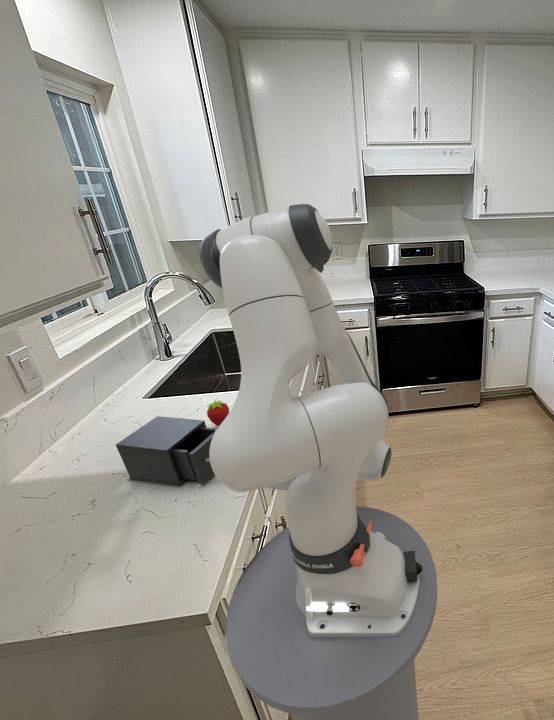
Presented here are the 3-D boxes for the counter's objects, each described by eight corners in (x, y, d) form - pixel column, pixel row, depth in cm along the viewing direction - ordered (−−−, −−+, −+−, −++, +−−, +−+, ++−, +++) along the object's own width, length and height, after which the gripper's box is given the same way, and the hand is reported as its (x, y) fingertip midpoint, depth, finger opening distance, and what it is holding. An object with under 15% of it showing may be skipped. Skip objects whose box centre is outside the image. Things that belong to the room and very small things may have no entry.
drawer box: (215, 453, 105) (204, 420, 101) (180, 485, 94) (166, 450, 89) (169, 448, 108) (157, 416, 104) (130, 479, 97) (115, 444, 92)
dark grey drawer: (246, 455, 102) (239, 427, 98) (218, 486, 92) (208, 456, 88) (189, 449, 106) (179, 422, 102) (155, 478, 96) (143, 449, 92)
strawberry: (233, 418, 121) (225, 390, 117) (232, 431, 114) (224, 401, 110) (213, 422, 119) (204, 394, 115) (210, 436, 113) (201, 406, 108)
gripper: (337, 418, 97) (286, 414, 99) (298, 474, 79) (238, 467, 81) (340, 439, 99) (291, 434, 102) (303, 498, 81) (245, 490, 84)
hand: (267, 449), depth 92 cm, fingers closed
